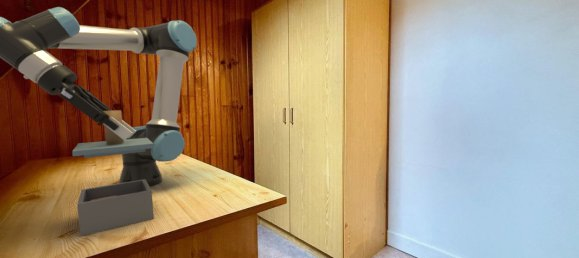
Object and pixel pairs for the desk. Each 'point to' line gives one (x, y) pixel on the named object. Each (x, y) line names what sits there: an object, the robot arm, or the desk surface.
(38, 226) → the desk surface
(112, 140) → the lid
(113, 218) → the storage box
